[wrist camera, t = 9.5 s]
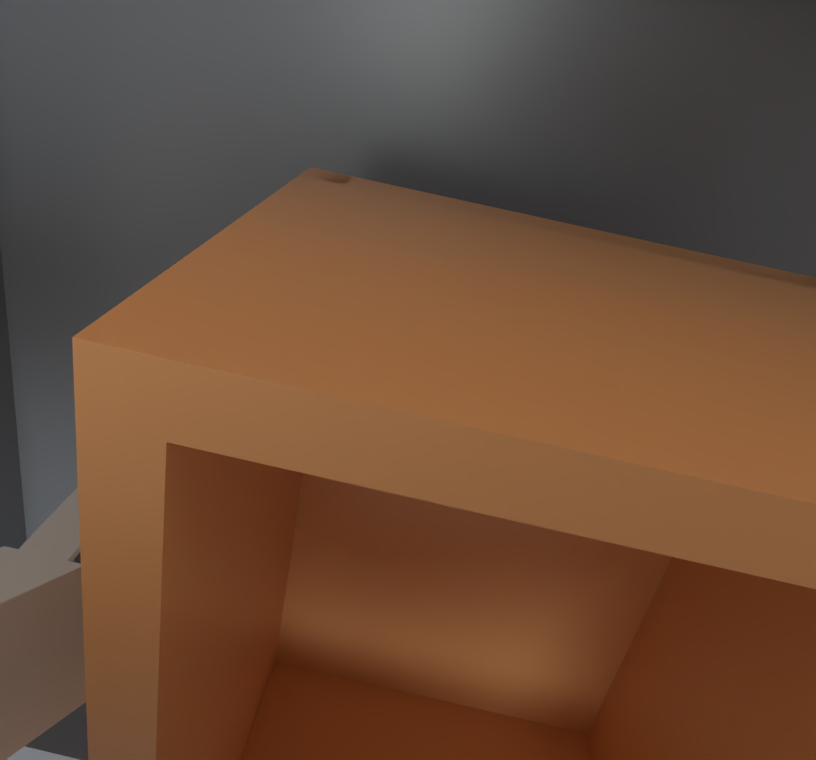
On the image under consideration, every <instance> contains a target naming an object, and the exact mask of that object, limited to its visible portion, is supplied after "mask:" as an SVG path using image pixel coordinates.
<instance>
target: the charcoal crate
mask: <svg viewBox="0 0 816 760" xmlns="http://www.w3.org/2000/svg"><path fill="white" fill-rule="evenodd" d="M310 167H313V168H317V169H322V170H326V171H331V172H335V173H340V174H345V175H349V176H354V177H358V178H363V179H367V180H372V181H377V182H381V183H386V184H390V185H395V186H399V187H404V188H408V189H413V190H418V191H422V192H427V193H431V194H436V195H440V196H445V197H450V198H454V199H459V200H463V201H468V202H472V203H477V204H481V205H486V206H491V207H495V208H500V209H504V210H509V211H513V212H518V213H523V214H527V215H532V216H536V217H541V218H545V219H550V220H554V221H559V222H564V223H568V224H573V225H577V226H582V227H586V228H591V229H596V230H600V231H605V232H609V233H614V234H618V235H623V236H627V237H632V238H637V239H641V240H646V241H650V242H655V243H659V244H664V245H669V246H673V247H678V248H682V249H687V250H691V251H696V252H700V253H705V254H710V255H714V256H719V257H723V258H728V259H732V260H737V261H742V262H746V263H751V264H755V265H760V266H764V267H769V268H773V269H778V270H783V271H787V272H792V273H796V274H801V275H805V276H810V277H815V278H816V0H0V548H1V547H4V546H6V547H10V548H15V549H19V548H20V547H21V546H22V545H23V543H24V542H25V541H26V540H27V539H28V538H29V537H30V536H31V535H32V534H33V533H34V532H35V531H36V530H37V529H38V527H39V526H40V525H41V524H42V523H43V522H44V521H45V520H46V519H47V518H48V517H49V516H50V515H51V514H52V513H53V511H54V510H55V509H56V508H57V507H58V506H59V505H60V504H61V503H62V502H63V501H64V500H65V499H66V498H67V496H68V495H69V494H70V493H71V492H72V491H73V490H74V489H75V488H76V487H77V486H78V477H77V450H76V424H75V398H74V372H73V345H72V337H73V336H75V335H76V334H78V333H79V332H80V331H82V330H83V329H85V328H86V327H87V326H89V325H90V324H92V323H93V322H94V321H96V320H97V319H99V318H100V317H101V316H103V315H104V314H106V313H107V312H108V311H110V310H111V309H113V308H114V307H115V306H117V305H118V304H120V303H121V302H122V301H124V300H125V299H127V298H128V297H129V296H131V295H132V294H134V293H135V292H136V291H138V290H139V289H141V288H142V287H143V286H145V285H146V284H148V283H149V282H150V281H152V280H153V279H155V278H156V277H157V276H159V275H160V274H162V273H163V272H164V271H166V270H167V269H169V268H170V267H171V266H173V265H174V264H176V263H177V262H178V261H180V260H181V259H183V258H184V257H185V256H187V255H188V254H190V253H191V252H192V251H194V250H195V249H197V248H198V247H199V246H201V245H202V244H204V243H205V242H206V241H208V240H209V239H211V238H212V237H213V236H215V235H216V234H218V233H219V232H220V231H222V230H223V229H225V228H226V227H227V226H229V225H230V224H232V223H233V222H234V221H236V220H237V219H239V218H240V217H241V216H243V215H244V214H246V213H247V212H248V211H250V210H251V209H253V208H254V207H255V206H257V205H258V204H260V203H261V202H262V201H264V200H265V199H267V198H268V197H269V196H271V195H272V194H274V193H275V192H276V191H278V190H279V189H281V188H282V187H283V186H285V185H286V184H288V183H289V182H290V181H292V180H293V179H295V178H296V177H297V176H299V175H300V174H302V173H303V172H304V171H306V170H307V169H309V168H310ZM6 760H88V740H87V713H86V702H85V703H84V704H83V705H81V706H80V707H78V708H77V709H76V710H74V711H73V712H71V713H70V714H69V715H67V716H66V717H64V718H63V719H62V720H60V721H59V722H58V723H56V724H55V725H53V726H52V727H51V728H49V729H48V730H46V731H45V732H44V733H42V734H41V735H39V736H38V737H37V738H35V739H34V740H32V741H31V742H30V743H28V744H27V745H25V746H24V747H23V748H21V749H20V750H19V751H17V752H16V753H14V754H13V755H12V756H10V757H9V758H7V759H6Z"/></svg>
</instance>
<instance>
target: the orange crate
mask: <svg viewBox="0 0 816 760" xmlns="http://www.w3.org/2000/svg"><path fill="white" fill-rule="evenodd" d="M72 345H73V372H74V398H75V424H76V450H77V477H78V503H79V529H80V556H81V582H82V608H83V635H84V661H85V687H86V713H87V740H88V760H816V278H815V277H810V276H805V275H801V274H796V273H792V272H787V271H783V270H778V269H773V268H769V267H764V266H760V265H755V264H751V263H746V262H742V261H737V260H732V259H728V258H723V257H719V256H714V255H710V254H705V253H700V252H696V251H691V250H687V249H682V248H678V247H673V246H669V245H664V244H659V243H655V242H650V241H646V240H641V239H637V238H632V237H627V236H623V235H618V234H614V233H609V232H605V231H600V230H596V229H591V228H586V227H582V226H577V225H573V224H568V223H564V222H559V221H554V220H550V219H545V218H541V217H536V216H532V215H527V214H523V213H518V212H513V211H509V210H504V209H500V208H495V207H491V206H486V205H481V204H477V203H472V202H468V201H463V200H459V199H454V198H450V197H445V196H440V195H436V194H431V193H427V192H422V191H418V190H413V189H408V188H404V187H399V186H395V185H390V184H386V183H381V182H377V181H372V180H367V179H363V178H358V177H354V176H349V175H345V174H340V173H335V172H331V171H326V170H322V169H317V168H313V167H310V168H309V169H307V170H306V171H304V172H303V173H302V174H300V175H299V176H297V177H296V178H295V179H293V180H292V181H290V182H289V183H288V184H286V185H285V186H283V187H282V188H281V189H279V190H278V191H276V192H275V193H274V194H272V195H271V196H269V197H268V198H267V199H265V200H264V201H262V202H261V203H260V204H258V205H257V206H255V207H254V208H253V209H251V210H250V211H248V212H247V213H246V214H244V215H243V216H241V217H240V218H239V219H237V220H236V221H234V222H233V223H232V224H230V225H229V226H227V227H226V228H225V229H223V230H222V231H220V232H219V233H218V234H216V235H215V236H213V237H212V238H211V239H209V240H208V241H206V242H205V243H204V244H202V245H201V246H199V247H198V248H197V249H195V250H194V251H192V252H191V253H190V254H188V255H187V256H185V257H184V258H183V259H181V260H180V261H178V262H177V263H176V264H174V265H173V266H171V267H170V268H169V269H167V270H166V271H164V272H163V273H162V274H160V275H159V276H157V277H156V278H155V279H153V280H152V281H150V282H149V283H148V284H146V285H145V286H143V287H142V288H141V289H139V290H138V291H136V292H135V293H134V294H132V295H131V296H129V297H128V298H127V299H125V300H124V301H122V302H121V303H120V304H118V305H117V306H115V307H114V308H113V309H111V310H110V311H108V312H107V313H106V314H104V315H103V316H101V317H100V318H99V319H97V320H96V321H94V322H93V323H92V324H90V325H89V326H87V327H86V328H85V329H83V330H82V331H80V332H79V333H78V334H76V335H75V336H73V337H72Z"/></svg>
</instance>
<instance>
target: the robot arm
mask: <svg viewBox="0 0 816 760" xmlns="http://www.w3.org/2000/svg"><path fill="white" fill-rule="evenodd" d="M85 702H86V687H85V661H84V635H83V608H82V582H81V556H80V529H79V503H78V486H77V487H76V488H75V489H74V490H73V491H72V492H71V493H70V494H69V495H68V496H67V498H66V499H65V500H64V501H63V502H62V503H61V504H60V505H59V506H58V507H57V508H56V509H55V510H54V511H53V513H52V514H51V515H50V516H49V517H48V518H47V519H46V520H45V521H44V522H43V523H42V524H41V525H40V526H39V527H38V529H37V530H36V531H35V532H34V533H33V534H32V535H31V536H30V537H29V538H28V539H27V540H26V541H25V542H24V543H23V545H22V546H21V547H20V548H19V549H15V548H10V547H6V546H4V547H1V548H0V760H6V759H7V758H9V757H10V756H12V755H13V754H14V753H16V752H17V751H19V750H20V749H21V748H23V747H24V746H25V745H27V744H28V743H30V742H31V741H32V740H34V739H35V738H37V737H38V736H39V735H41V734H42V733H44V732H45V731H46V730H48V729H49V728H51V727H52V726H53V725H55V724H56V723H58V722H59V721H60V720H62V719H63V718H64V717H66V716H67V715H69V714H70V713H71V712H73V711H74V710H76V709H77V708H78V707H80V706H81V705H83V704H84V703H85Z"/></svg>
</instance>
